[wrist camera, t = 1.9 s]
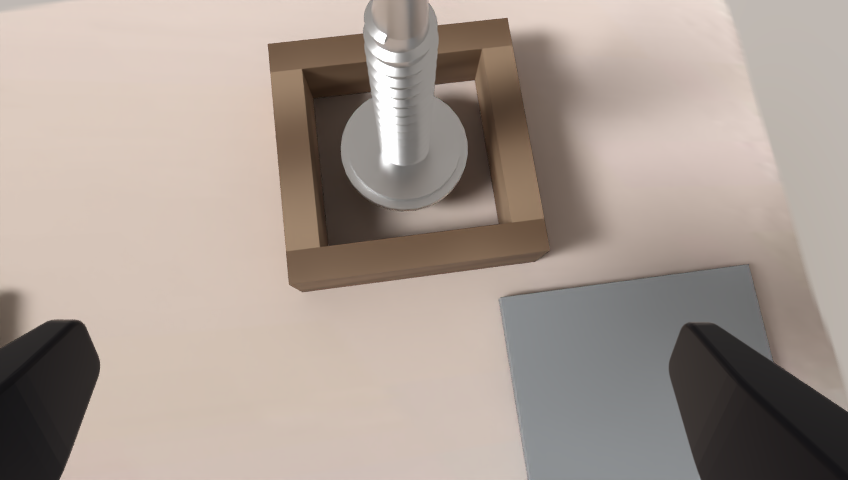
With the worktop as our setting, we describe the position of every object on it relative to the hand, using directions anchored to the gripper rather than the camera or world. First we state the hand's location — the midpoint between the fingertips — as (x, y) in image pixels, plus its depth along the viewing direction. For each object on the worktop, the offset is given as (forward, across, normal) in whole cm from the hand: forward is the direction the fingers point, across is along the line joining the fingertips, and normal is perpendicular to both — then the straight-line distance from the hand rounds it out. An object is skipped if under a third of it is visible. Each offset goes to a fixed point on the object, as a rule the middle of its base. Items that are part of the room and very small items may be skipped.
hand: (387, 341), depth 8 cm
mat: (+8, -10, +11) cm, 17 cm away
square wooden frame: (+15, 0, +4) cm, 15 cm away
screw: (+15, 0, +4) cm, 16 cm away
